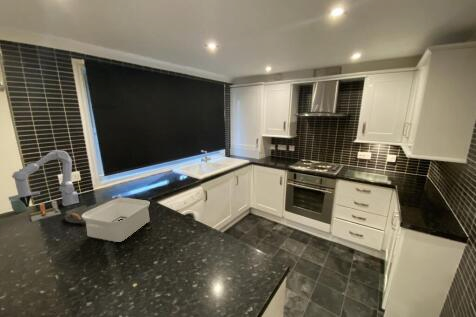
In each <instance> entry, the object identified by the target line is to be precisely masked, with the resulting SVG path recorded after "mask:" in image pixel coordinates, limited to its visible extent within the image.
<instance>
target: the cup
mask: <svg viewBox="0 0 476 317" xmlns="http://www.w3.org/2000/svg"><path fill="white" fill-rule="evenodd" d="M25 199H26V197H25ZM9 202H10V206H11V209H12V211H13V212H15V213H22V212H26V211H27V210H28V208H29V207H26V206H25V204H24V203H23V202H22V201H21V200H20V198H18V199H13V200H10V201H9ZM26 203H27V200H26Z"/></svg>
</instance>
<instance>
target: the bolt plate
mask: <svg viewBox="0 0 476 317" xmlns="http://www.w3.org/2000/svg"><path fill="white" fill-rule="evenodd" d="M61 214H62V213H61V210H60V209H58V211H56V210H54V211H50V212H46V213H45V215H44V214H43V213H42V214H38V215H34V216H31V215H30V219H31V222H36V221H39V220H43V219H47V218H50V217H55V216H59V215H61Z"/></svg>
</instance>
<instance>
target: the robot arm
mask: <svg viewBox="0 0 476 317" xmlns="http://www.w3.org/2000/svg"><path fill="white" fill-rule="evenodd" d="M51 160H59V161H60V162H62V178H61V179H62V181H61V183H60V185H59V188H58V191H59V192H61V198H62V202H61V204H62V206H64V207H65V206H66V207H67V206H70V205H74V204H78V203H79V202H80V201H79V196H78V192H77V191H75V187H74V184H73V182H72V172H73V171H72V170H73V169H72V168H73V163H72V162H73V158H71V157H70V154H69V153H68V152H67V151H65V150H59V149H54V150H52V151H50V152H48V153H47V154H46V155H44V156H43V157H42V158H40V159H39V160H37V161H36V162H34V163H33V162H32V163H27V164H26V165H25V166H24V167H22V168H20V169H19V170H18V171H14V172H13V174H12V179H14V182H15V187H16V190H17V195H13V196H8V201H9V202H10V200H13V199H18V198H20V200H21V201H22V202H23V203H24V204H25V206H26V207H28V208H29V207H30V201H31V198H32V196H37V195H41V192H40V190H39V191H31V187H30V186H29V185H30V184H29V181H28V178H29V176H30V175H32V174H34V173H35V172H37V171H38V170H40V167H41V166H43V165H45V164H46V163H47V162H49V161H51ZM25 197H26V199H25ZM26 200H27V203H26Z"/></svg>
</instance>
